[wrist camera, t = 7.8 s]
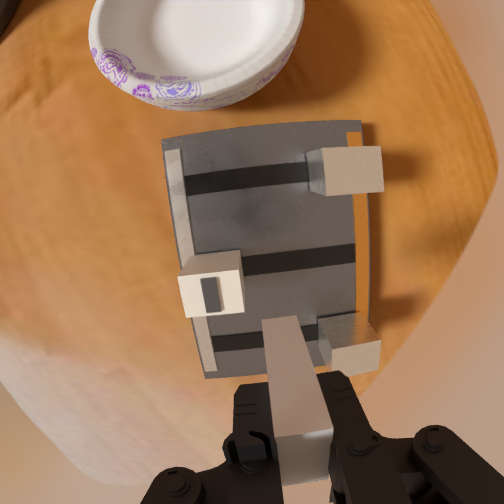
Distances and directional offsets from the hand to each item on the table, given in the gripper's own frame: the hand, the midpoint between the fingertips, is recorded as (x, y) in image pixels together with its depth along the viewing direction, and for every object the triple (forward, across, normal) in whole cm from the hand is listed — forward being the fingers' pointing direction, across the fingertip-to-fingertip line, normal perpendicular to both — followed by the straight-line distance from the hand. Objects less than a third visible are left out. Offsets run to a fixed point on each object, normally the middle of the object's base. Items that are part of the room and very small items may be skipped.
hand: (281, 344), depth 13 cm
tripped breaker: (+12, -4, 0) cm, 12 cm away
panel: (+14, +1, 0) cm, 14 cm away
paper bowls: (+15, -3, +20) cm, 25 cm away
